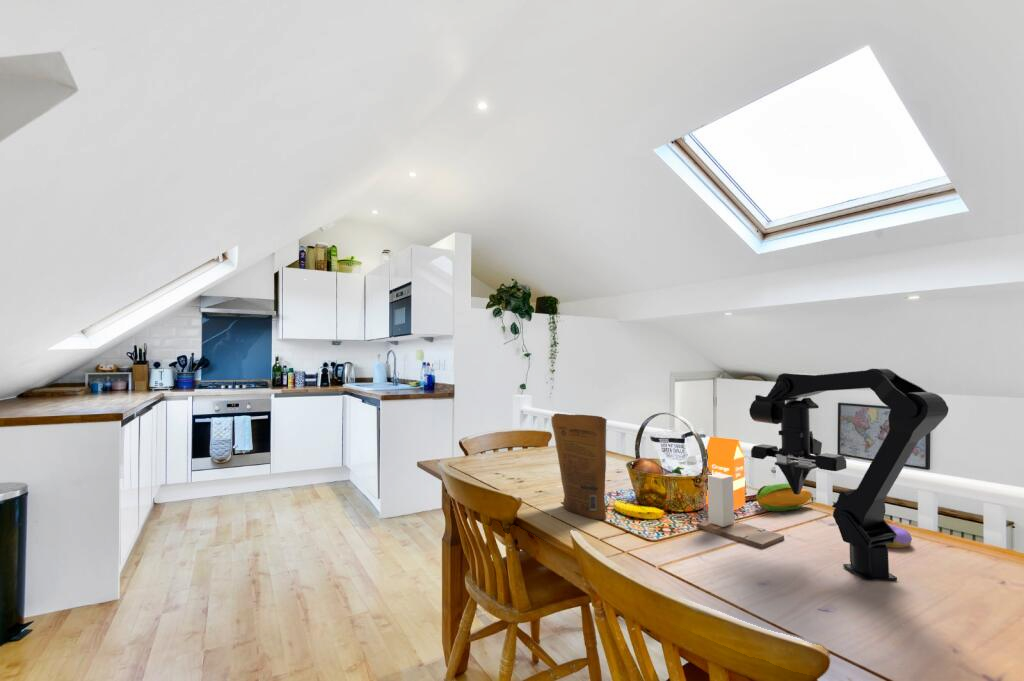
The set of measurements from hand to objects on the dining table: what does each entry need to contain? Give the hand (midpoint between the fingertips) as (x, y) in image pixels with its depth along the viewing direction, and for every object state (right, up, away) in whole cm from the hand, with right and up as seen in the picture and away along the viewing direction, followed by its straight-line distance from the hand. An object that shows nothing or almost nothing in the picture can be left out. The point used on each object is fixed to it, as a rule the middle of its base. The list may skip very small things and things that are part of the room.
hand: (796, 494), depth 110 cm
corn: (+14, -14, +28) cm, 34 cm away
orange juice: (-3, -14, +31) cm, 34 cm away
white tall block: (-12, -11, +12) cm, 21 cm away
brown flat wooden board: (-10, -12, +8) cm, 18 cm away
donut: (+23, -13, +2) cm, 26 cm away
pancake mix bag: (-47, -13, +24) cm, 54 cm away
